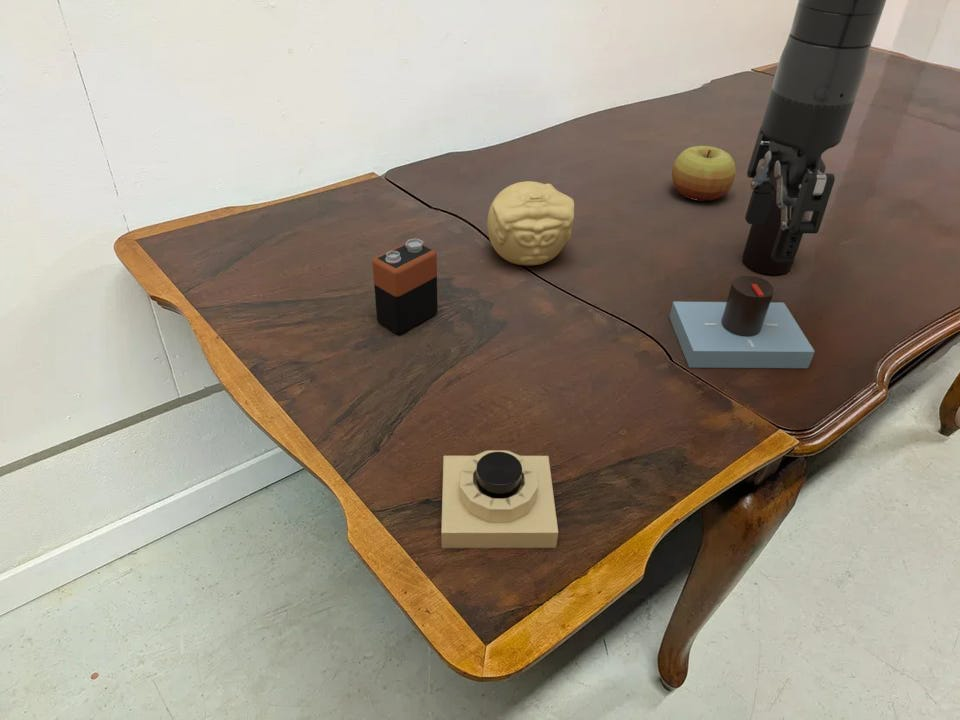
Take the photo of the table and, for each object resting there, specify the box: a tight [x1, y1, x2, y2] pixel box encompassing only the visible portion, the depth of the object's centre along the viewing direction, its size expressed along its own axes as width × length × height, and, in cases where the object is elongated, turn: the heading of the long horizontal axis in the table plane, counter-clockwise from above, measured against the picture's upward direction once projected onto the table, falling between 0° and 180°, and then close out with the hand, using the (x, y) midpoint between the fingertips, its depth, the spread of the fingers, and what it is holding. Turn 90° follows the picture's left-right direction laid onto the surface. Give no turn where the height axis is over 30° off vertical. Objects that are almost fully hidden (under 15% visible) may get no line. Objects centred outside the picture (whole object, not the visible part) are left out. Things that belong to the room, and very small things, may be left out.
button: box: [476, 452, 522, 498], centre depth 62 cm, size 4×4×2 cm
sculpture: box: [486, 180, 575, 267], centre depth 98 cm, size 12×12×11 cm
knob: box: [721, 275, 775, 336], centre depth 83 cm, size 5×5×6 cm
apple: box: [671, 145, 737, 201], centre depth 115 cm, size 10×10×8 cm
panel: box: [669, 301, 816, 369], centre depth 85 cm, size 14×10×3 cm
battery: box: [371, 238, 439, 335], centre depth 85 cm, size 4×7×10 cm, turn 137°
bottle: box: [741, 158, 827, 276], centre depth 94 cm, size 7×7×20 cm
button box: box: [440, 449, 559, 549], centre depth 64 cm, size 10×9×4 cm
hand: (767, 240), depth 77 cm, fingers open, 8 cm apart
